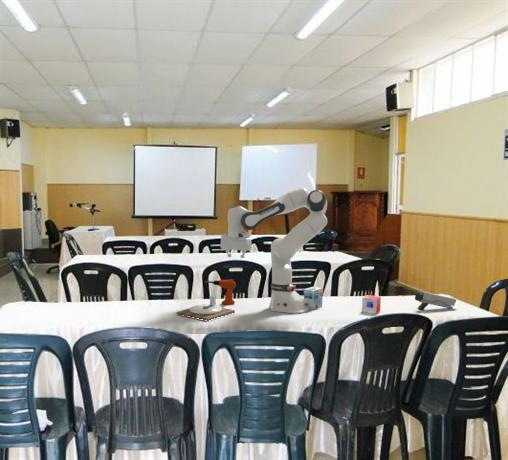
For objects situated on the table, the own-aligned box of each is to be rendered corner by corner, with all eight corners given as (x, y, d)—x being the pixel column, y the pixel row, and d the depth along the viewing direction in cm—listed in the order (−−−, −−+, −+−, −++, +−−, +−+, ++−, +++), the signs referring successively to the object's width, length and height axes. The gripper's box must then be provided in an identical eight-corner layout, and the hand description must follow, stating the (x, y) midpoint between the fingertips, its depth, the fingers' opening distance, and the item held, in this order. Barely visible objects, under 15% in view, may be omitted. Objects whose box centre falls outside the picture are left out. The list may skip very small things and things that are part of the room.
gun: (411, 307, 270) (415, 290, 270) (450, 315, 275) (454, 298, 275) (413, 308, 268) (418, 291, 267) (452, 316, 273) (457, 299, 272)
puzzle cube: (380, 310, 267) (380, 296, 266) (376, 313, 260) (376, 299, 259) (366, 308, 271) (366, 294, 270) (361, 311, 264) (362, 297, 263)
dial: (210, 316, 243) (210, 304, 243) (183, 312, 251) (183, 300, 251) (227, 309, 258) (227, 297, 258) (201, 305, 266) (201, 294, 266)
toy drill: (201, 301, 278) (205, 275, 277) (233, 304, 281) (237, 279, 280) (202, 303, 273) (205, 277, 272) (234, 306, 276) (238, 280, 276)
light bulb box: (313, 309, 267) (313, 290, 266) (303, 308, 271) (303, 289, 270) (322, 306, 275) (323, 287, 274) (312, 304, 279) (312, 286, 278)
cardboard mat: (234, 312, 257) (234, 309, 257) (207, 321, 240) (207, 318, 239) (203, 306, 270) (203, 304, 270) (176, 314, 252) (176, 311, 252)
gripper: (218, 233, 281) (218, 256, 282) (246, 235, 269) (247, 259, 271) (224, 232, 286) (224, 255, 287) (252, 234, 275) (253, 257, 276)
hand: (235, 257), depth 279 cm, fingers open, 8 cm apart
